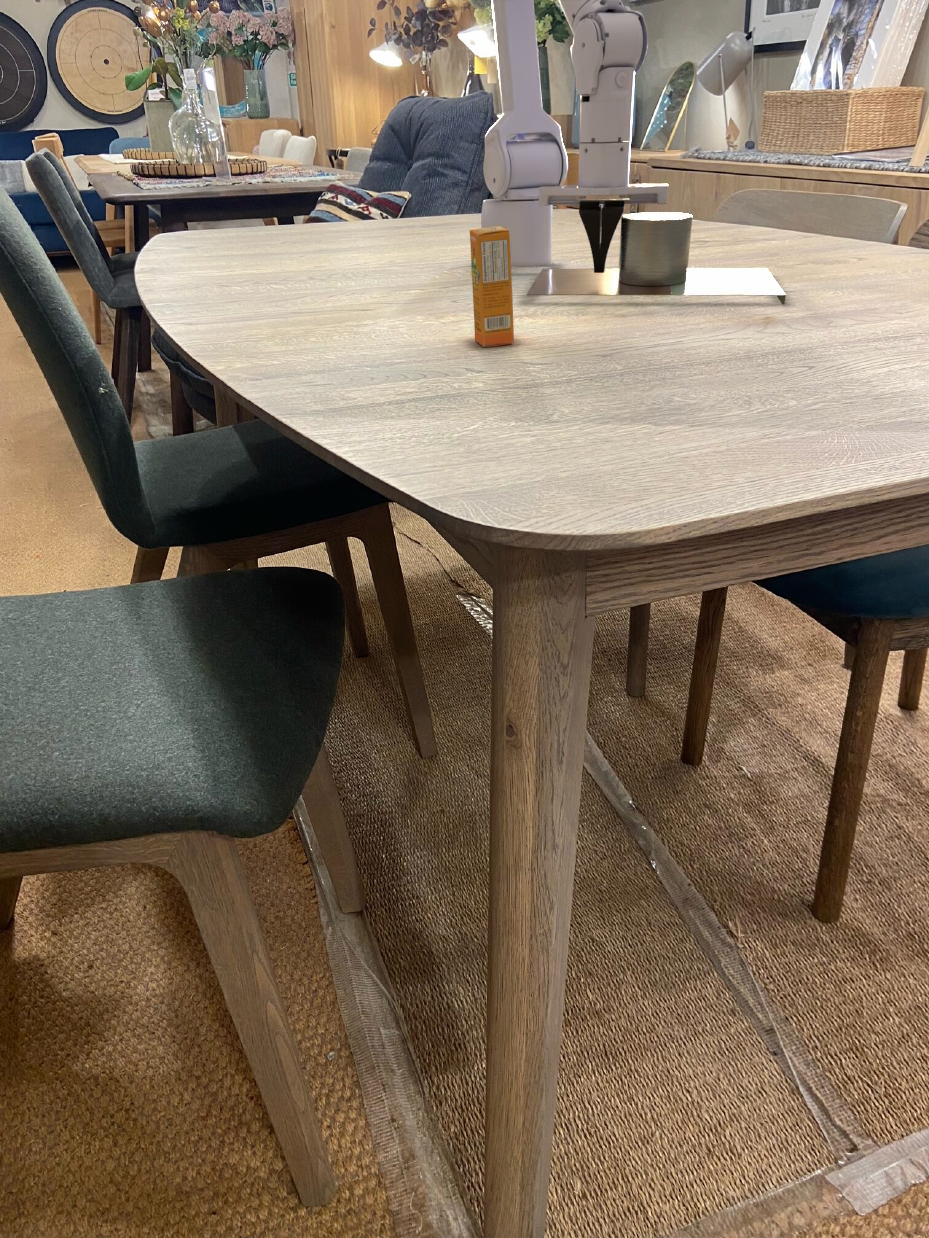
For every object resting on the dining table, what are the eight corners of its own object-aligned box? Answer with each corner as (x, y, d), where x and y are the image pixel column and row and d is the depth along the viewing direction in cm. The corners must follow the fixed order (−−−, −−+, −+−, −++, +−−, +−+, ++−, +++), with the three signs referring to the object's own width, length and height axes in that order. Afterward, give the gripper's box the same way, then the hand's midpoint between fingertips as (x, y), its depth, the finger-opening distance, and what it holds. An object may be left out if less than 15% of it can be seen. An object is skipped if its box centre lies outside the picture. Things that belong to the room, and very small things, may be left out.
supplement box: (470, 340, 85) (467, 227, 80) (505, 337, 86) (504, 225, 81) (479, 348, 82) (477, 231, 77) (515, 344, 83) (514, 229, 78)
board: (526, 303, 100) (526, 294, 100) (542, 277, 115) (542, 268, 115) (784, 304, 95) (786, 294, 95) (765, 276, 111) (766, 268, 110)
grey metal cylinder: (616, 286, 102) (620, 220, 99) (618, 275, 109) (622, 212, 105) (687, 286, 101) (694, 219, 97) (685, 274, 108) (691, 211, 104)
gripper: (536, 145, 96) (535, 277, 103) (672, 141, 94) (661, 277, 101) (542, 143, 102) (541, 267, 109) (670, 139, 100) (661, 267, 107)
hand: (599, 271), depth 105 cm, fingers closed
